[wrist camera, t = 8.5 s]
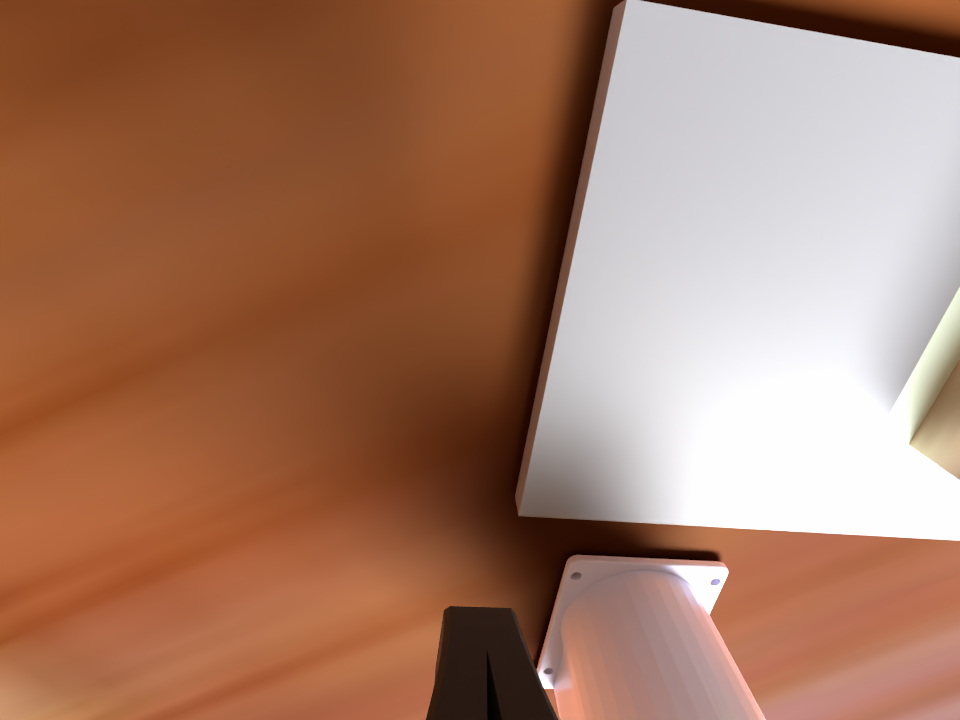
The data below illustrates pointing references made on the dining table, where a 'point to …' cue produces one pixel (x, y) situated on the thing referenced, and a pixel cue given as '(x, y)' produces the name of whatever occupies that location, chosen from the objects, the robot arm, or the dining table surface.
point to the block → (942, 427)
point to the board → (754, 285)
